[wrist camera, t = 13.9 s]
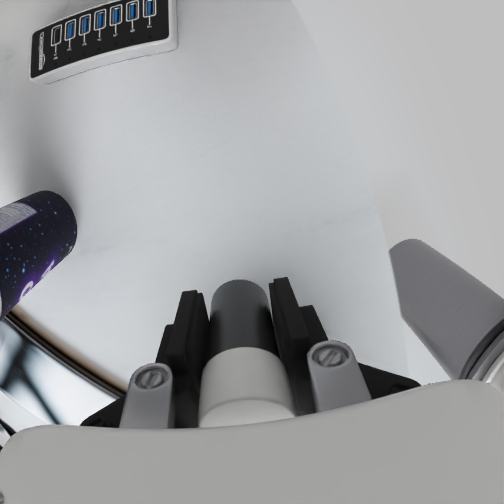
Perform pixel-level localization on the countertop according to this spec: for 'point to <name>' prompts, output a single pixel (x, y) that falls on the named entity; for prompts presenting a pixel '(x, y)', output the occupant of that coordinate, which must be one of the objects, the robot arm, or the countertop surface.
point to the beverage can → (32, 243)
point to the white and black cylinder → (243, 361)
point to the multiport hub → (102, 37)
